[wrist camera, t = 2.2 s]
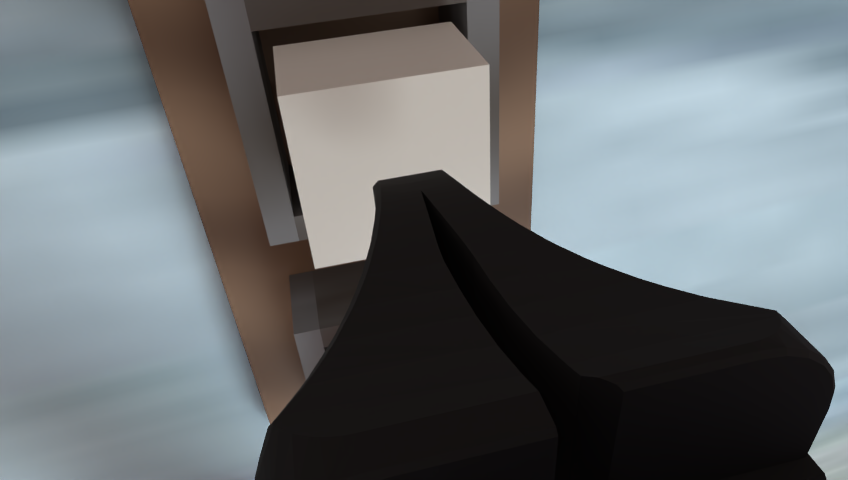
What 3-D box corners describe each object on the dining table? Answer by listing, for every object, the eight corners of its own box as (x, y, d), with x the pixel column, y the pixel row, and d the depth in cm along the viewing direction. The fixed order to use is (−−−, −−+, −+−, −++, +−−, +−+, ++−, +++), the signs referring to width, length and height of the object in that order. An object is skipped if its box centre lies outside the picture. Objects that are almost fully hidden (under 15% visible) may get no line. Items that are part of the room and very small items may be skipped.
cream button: (272, 46, 14) (277, 96, 12) (450, 21, 15) (489, 64, 12) (306, 201, 17) (314, 269, 14) (457, 174, 17) (490, 235, 15)
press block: (91, -153, 15) (42, -137, 12) (525, -193, 17) (600, -190, 13) (278, 425, 28) (282, 517, 24) (513, 372, 30) (549, 451, 26)
